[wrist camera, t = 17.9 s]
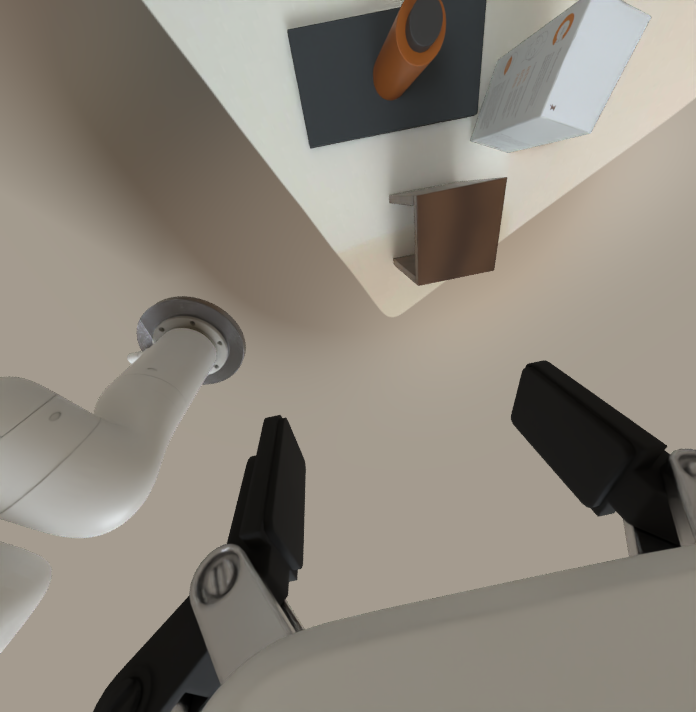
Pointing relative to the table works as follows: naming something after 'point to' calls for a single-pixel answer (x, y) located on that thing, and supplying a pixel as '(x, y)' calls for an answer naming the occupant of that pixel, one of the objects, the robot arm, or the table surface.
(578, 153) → the table surface
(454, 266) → the bronze lidded cube
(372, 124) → the mat
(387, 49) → the spice bottle
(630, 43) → the small box
